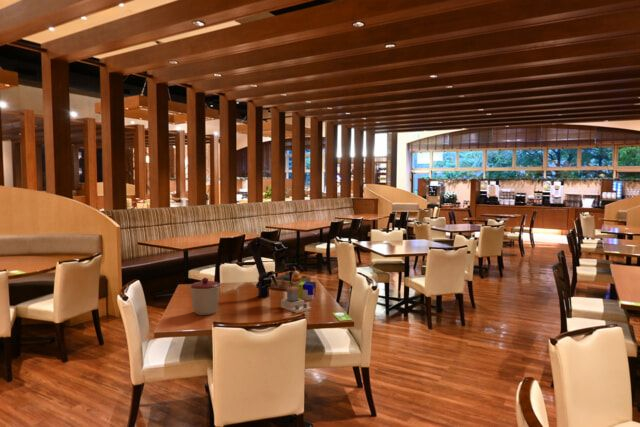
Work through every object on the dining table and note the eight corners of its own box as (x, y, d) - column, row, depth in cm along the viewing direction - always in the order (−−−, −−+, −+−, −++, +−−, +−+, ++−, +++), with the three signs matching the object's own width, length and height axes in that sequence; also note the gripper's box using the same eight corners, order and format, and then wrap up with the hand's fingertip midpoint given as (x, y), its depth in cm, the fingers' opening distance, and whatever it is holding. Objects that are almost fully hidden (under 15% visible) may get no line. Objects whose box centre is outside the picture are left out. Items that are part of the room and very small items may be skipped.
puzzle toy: (312, 300, 293) (312, 285, 292) (297, 299, 295) (297, 284, 294) (315, 296, 303) (315, 282, 302) (301, 295, 305) (301, 281, 304)
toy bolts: (311, 285, 337) (311, 268, 336) (296, 289, 323) (296, 272, 322) (292, 281, 348) (293, 266, 347) (278, 285, 334) (278, 269, 333)
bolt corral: (269, 287, 327) (269, 279, 326) (284, 281, 348) (284, 273, 348) (296, 290, 318) (296, 282, 317) (310, 284, 339) (310, 276, 339)
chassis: (280, 306, 276) (280, 299, 276) (294, 303, 283) (294, 297, 282) (296, 313, 263) (296, 305, 263) (310, 309, 270) (311, 302, 270)
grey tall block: (287, 304, 276) (287, 287, 275) (293, 303, 279) (293, 286, 278) (291, 306, 272) (291, 288, 271) (298, 305, 275) (298, 287, 274)
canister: (222, 316, 255) (222, 280, 254) (189, 318, 250) (189, 281, 249) (220, 307, 273) (219, 274, 271) (189, 309, 268) (189, 275, 266)
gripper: (263, 263, 280) (267, 287, 277) (291, 257, 279) (296, 281, 277) (266, 264, 291) (270, 287, 288) (293, 258, 290) (298, 281, 288)
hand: (283, 284), depth 285 cm, fingers open, 9 cm apart
